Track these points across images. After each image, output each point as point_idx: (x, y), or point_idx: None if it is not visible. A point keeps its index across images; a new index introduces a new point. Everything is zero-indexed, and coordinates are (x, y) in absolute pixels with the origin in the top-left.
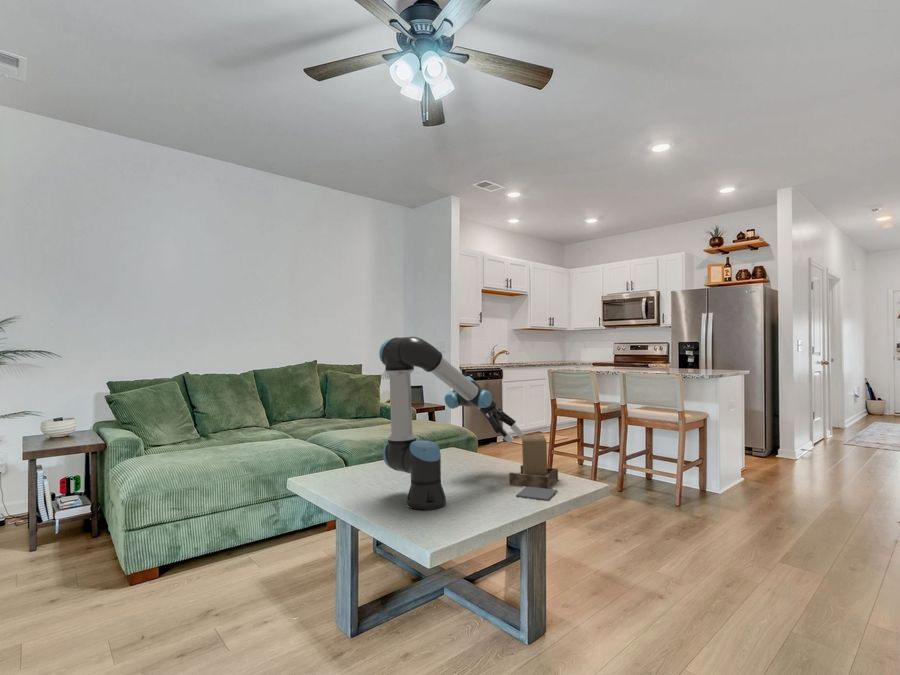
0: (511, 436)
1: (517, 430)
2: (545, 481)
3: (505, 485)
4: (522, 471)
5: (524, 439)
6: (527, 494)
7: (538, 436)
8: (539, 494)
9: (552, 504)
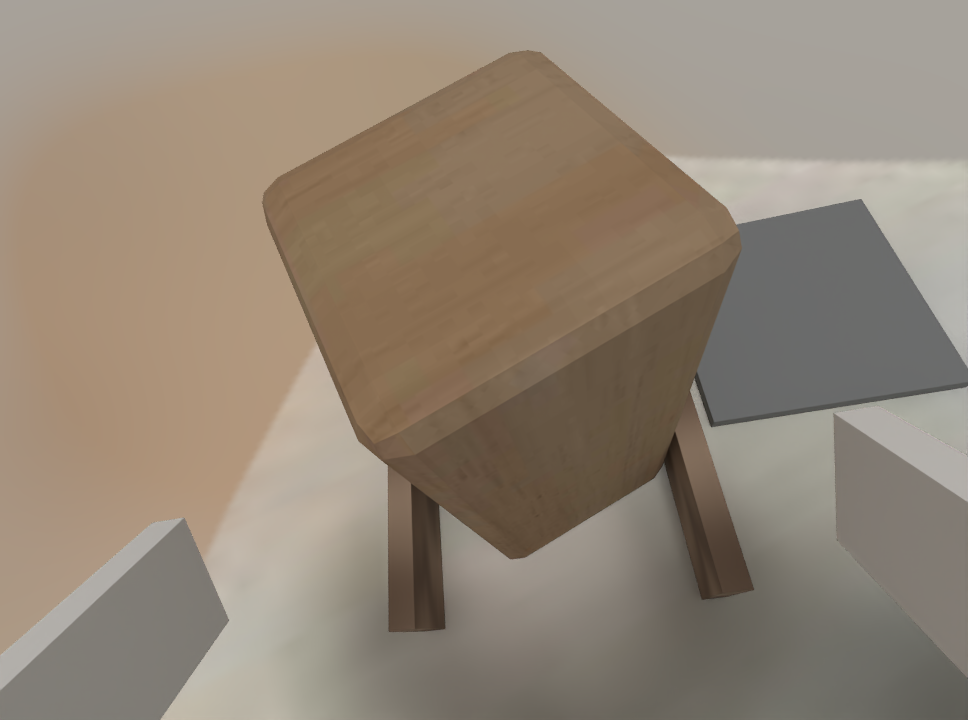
0: (898, 458)
1: (80, 699)
2: None
3: (766, 624)
4: (429, 609)
5: (727, 222)
6: (889, 325)
7: (413, 161)
8: (821, 271)
9: (885, 170)
